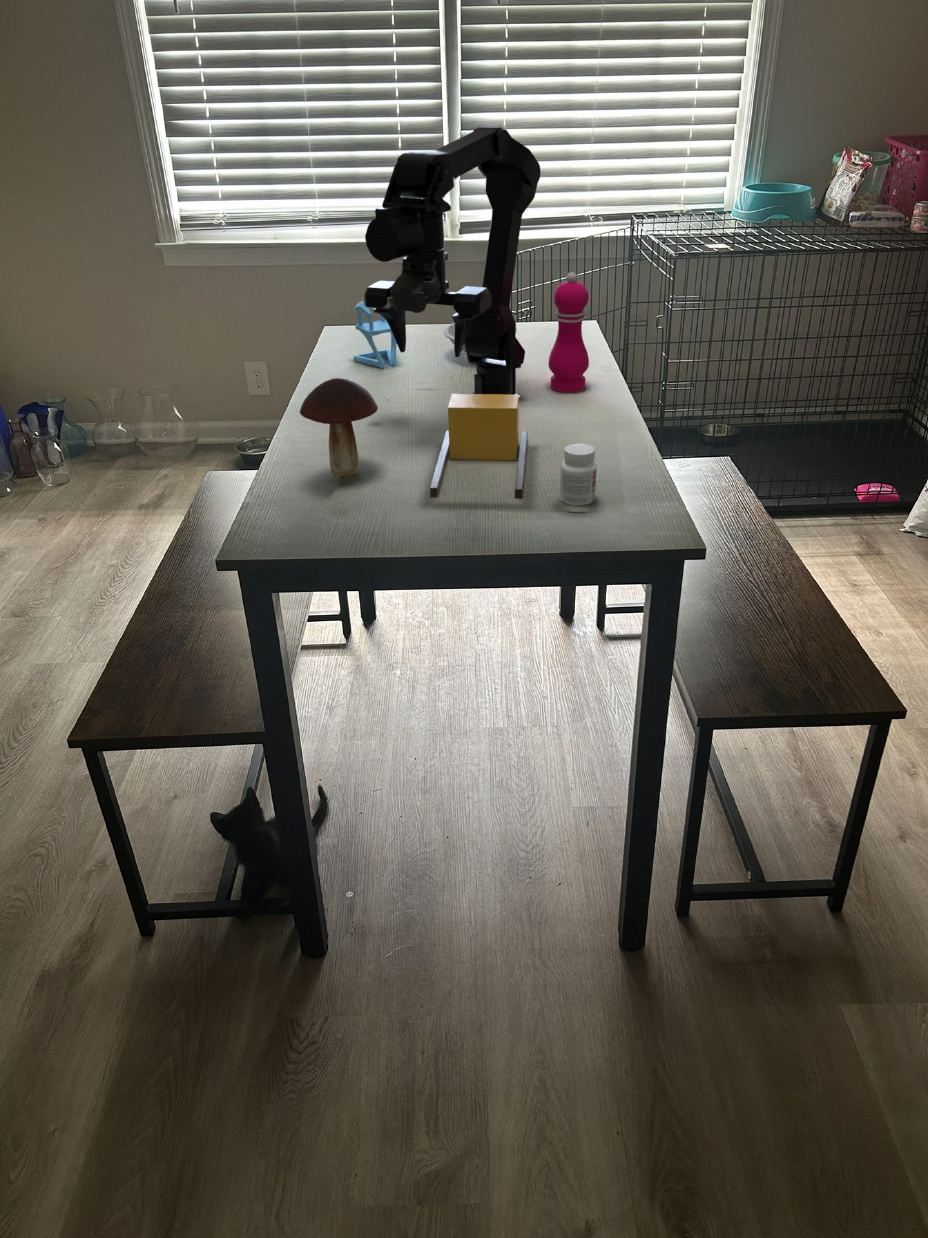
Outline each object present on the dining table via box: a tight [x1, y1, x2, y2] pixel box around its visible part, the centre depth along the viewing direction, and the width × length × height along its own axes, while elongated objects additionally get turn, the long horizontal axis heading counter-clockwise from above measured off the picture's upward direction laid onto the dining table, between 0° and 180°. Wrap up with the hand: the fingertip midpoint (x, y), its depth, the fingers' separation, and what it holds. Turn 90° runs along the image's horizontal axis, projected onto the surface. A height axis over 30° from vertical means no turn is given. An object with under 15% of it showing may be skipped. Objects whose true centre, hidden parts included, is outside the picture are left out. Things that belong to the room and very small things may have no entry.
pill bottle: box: [559, 443, 598, 515], centre depth 127 cm, size 5×5×8 cm
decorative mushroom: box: [299, 377, 379, 480], centre depth 135 cm, size 11×11×15 cm
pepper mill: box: [547, 271, 590, 393], centre depth 167 cm, size 7×7×20 cm
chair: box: [353, 299, 398, 369], centre depth 184 cm, size 8×8×12 cm
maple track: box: [429, 430, 529, 499], centre depth 138 cm, size 22×14×3 cm, turn 175°
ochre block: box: [447, 393, 520, 461], centre depth 141 cm, size 6×10×8 cm, turn 85°
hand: (429, 354), depth 147 cm, fingers open, 9 cm apart
